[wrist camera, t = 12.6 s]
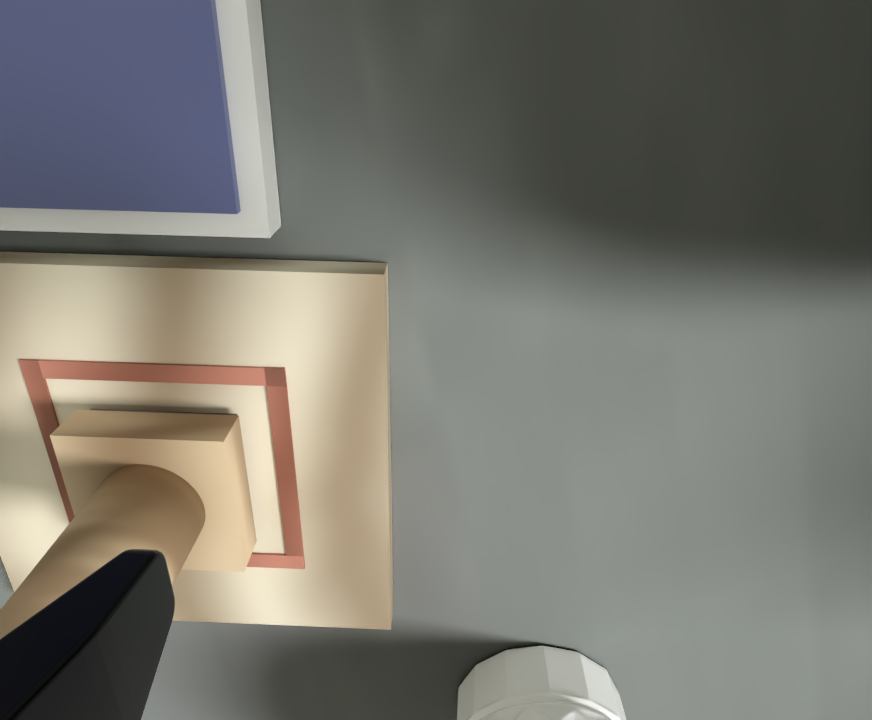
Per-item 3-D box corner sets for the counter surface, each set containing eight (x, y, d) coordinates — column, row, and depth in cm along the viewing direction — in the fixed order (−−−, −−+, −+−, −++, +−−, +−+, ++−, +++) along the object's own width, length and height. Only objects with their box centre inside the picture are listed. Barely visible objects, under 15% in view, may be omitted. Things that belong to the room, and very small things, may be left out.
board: (387, 262, 18) (383, 275, 18) (393, 608, 25) (390, 631, 24) (-89, 248, 19) (-118, 260, 18) (38, 593, 25) (21, 616, 24)
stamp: (243, 408, 20) (146, 575, 14) (260, 532, 22) (184, 722, 16) (83, 402, 20) (-83, 565, 14) (116, 526, 22) (-13, 712, 16)
